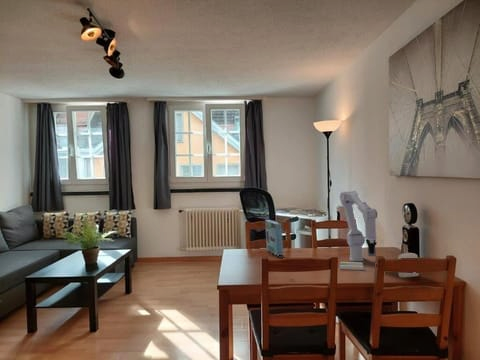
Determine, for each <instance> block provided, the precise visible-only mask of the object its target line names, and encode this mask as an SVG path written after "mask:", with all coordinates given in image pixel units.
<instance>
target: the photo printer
mask: <svg viewBox="0 0 480 360" xmlns="http://www.w3.org/2000/svg"><path fill="white" fill-rule="evenodd" d="M401 258H418V259H419V257H418V254H416V253H414V252H413V253H412V252H404V253H401V254H399V255H398V256H397V260H398V259H401ZM419 276H420V272H419V273H416V272H413V273H399V272H398V277H399V278H413V277H419Z"/></svg>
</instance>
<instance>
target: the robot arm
mask: <svg viewBox="0 0 480 360" xmlns="http://www.w3.org/2000/svg"><path fill="white" fill-rule="evenodd" d="M339 199H340V204H341V206H343V210H344V213H345V218H346V222H347V226H348V230H349V231H348V232H347V233H346V243H347V244H348V246H349V253H350V255H349V262H364V258H363V257H364V256H363V246H364V244H365V243H366V245H367V249H368V248H369V252H370V254H374V249H375V250H376V246H377V243H378V242H376V241H377V232H376V231H377V230H376V229H377V227H376V223H377V222H376V219H377V218H378V211H377V209H376V208H372V207H370V206H369V204H367V202H365V201H362V200H361V198H360V197H359V195H358V192H357V191H356V190H353V191H352V190H350V191H340V193H339ZM353 205H356V206H357V209H358V210H359V212H361V213H362V217H363V222H364V224H365V225H364V226H365V229H364V231H365V236H364V234H363V232H362V231H361V230H359V229H358V226H357V225H358V224H357V222H356V218H355V214H354V210H353Z"/></svg>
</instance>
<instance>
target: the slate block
mask: <svg viewBox="0 0 480 360" xmlns="http://www.w3.org/2000/svg"><path fill="white" fill-rule="evenodd" d="M376 253H377V251H376V248H375V249H374V254H370V252H369V248H368V247H367V255H368V257H376V256H377V254H376Z"/></svg>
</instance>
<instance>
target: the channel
mask: <svg viewBox="0 0 480 360" xmlns="http://www.w3.org/2000/svg"><path fill="white" fill-rule="evenodd" d="M339 270H352V271H353V270H354V271H364V270H365V269H364V264H363V262H362V261H340V262H339Z"/></svg>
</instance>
